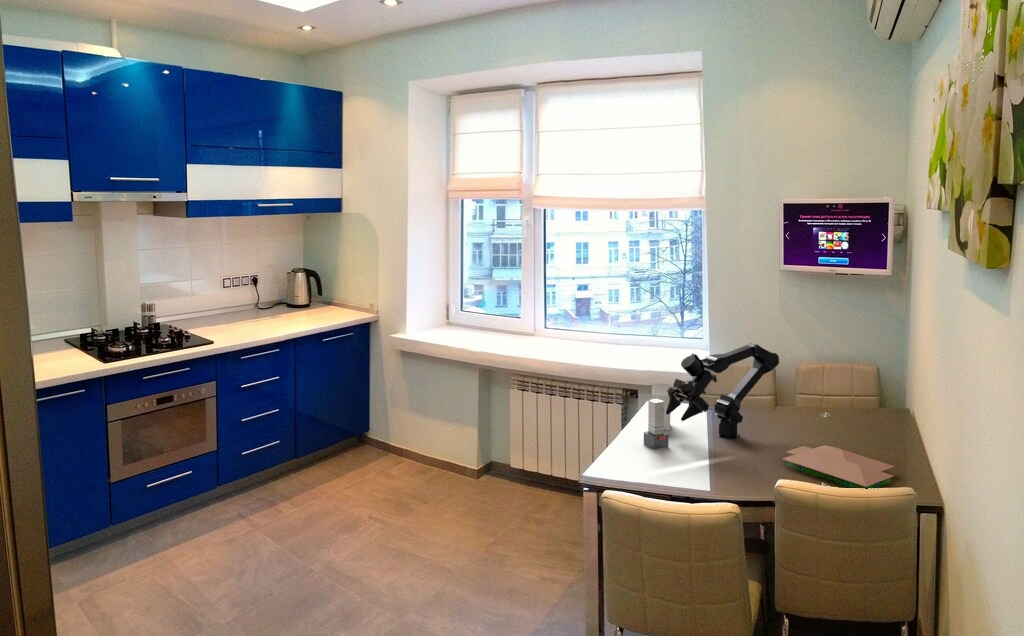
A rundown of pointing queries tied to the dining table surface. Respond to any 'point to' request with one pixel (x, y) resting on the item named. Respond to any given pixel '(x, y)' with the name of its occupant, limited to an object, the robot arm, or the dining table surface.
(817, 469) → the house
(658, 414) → the post
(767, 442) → the dining table surface
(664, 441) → the stand
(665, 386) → the milk carton
